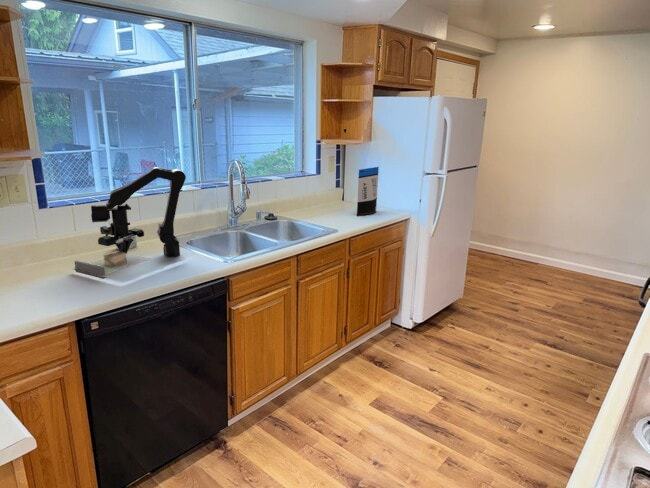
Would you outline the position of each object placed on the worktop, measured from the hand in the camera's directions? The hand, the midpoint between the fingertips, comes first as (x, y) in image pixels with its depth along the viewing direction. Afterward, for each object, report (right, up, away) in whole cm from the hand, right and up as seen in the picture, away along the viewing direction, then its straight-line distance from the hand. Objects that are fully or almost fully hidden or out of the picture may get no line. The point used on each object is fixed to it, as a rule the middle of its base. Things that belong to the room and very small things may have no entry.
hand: (124, 256), depth 188 cm
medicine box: (-7, +2, +18) cm, 19 cm away
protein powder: (+113, +26, +109) cm, 159 cm away
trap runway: (-2, -4, -3) cm, 6 cm away
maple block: (-2, -3, -4) cm, 5 cm away
